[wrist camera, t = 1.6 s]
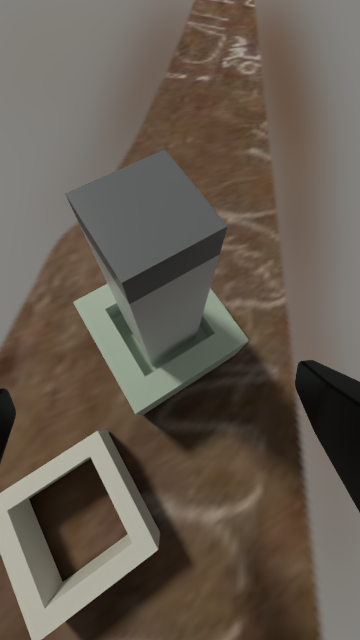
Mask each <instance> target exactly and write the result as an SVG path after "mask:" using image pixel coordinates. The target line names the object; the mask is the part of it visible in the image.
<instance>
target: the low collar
mask: <svg viewBox="0 0 360 640" xmlns="http://www.w3.org/2000/svg"><path fill="white" fill-rule="evenodd" d="M90 458H91V459H92V461H93V463H94V465H95V467H96V469H97V472H98V474H99V476H100V478H101V480H102V482H103V484H104V486H105V488H106V490H107V492H108V494H109V496H110V498H111V500H112V502H113V504H114V506H115V508H116V510H117V513H118V515H119V517H120V519H121V521H122V523H123V525H124V527H125V529H126V531H127V533H128V534H127V535H126V536H125V537H123V538H122V539H121V540H119V541H118V542H117V543H115V544H114V545H113V546H111V547H110V548H108V549H107V550H106V551H104V552H103V553H102V554H100V555H99V556H98V557H96V558H95V559H94V560H92V561H91V562H89V563H88V564H87V565H85V566H84V567H83V568H81V569H80V570H79V571H77V572H76V573H75V574H73V575H72V576H70V577H69V578H68V579H66V580H65V581H64V582H63V581H62V579H61V577H60V574H59V572H58V569H57V567H56V564H55V562H54V559H53V557H52V555H51V552H50V550H49V547H48V545H47V542H46V540H45V537H44V535H43V533H42V530H41V528H40V525H39V523H38V520H37V518H36V515H35V513H34V510H33V508H32V506H31V503H30V501H29V498H31V497H33V496H34V495H36V494H37V493H39V492H40V491H42V490H43V489H45V488H46V487H48V486H49V485H51V484H52V483H54V482H55V481H57V480H58V479H60V478H61V477H63V476H64V475H66V474H67V473H69V472H71V471H72V470H74V469H75V468H77V467H78V466H80V465H81V464H83V463H84V462H86V461H87V460H89V459H90ZM159 538H160V531H159V529H158V527H157V526H156V524H155V522H154V520H153V518H152V516H151V514H150V512H149V510H148V508H147V506H146V504H145V502H144V500H143V499H142V497H141V495H140V493H139V491H138V489H137V487H136V485H135V483H134V481H133V479H132V477H131V475H130V474H129V472H128V470H127V468H126V466H125V464H124V462H123V460H122V458H121V456H120V454H119V452H118V450H117V448H116V447H115V445H114V443H113V441H112V439H111V437H110V435H109V433H108V431H107V430H100V431H97V432H95V433H93V434H92V435H90V436H89V437H87V438H86V439H84V440H82V441H81V442H79V443H78V444H76V445H75V446H73V447H72V448H70V449H68V450H67V451H65V452H64V453H62V454H61V455H59V456H57V457H56V458H54V459H53V460H51V461H50V462H48V463H47V464H45V465H43V466H42V467H40V468H39V469H37V470H36V471H34V472H33V473H31V474H29V475H28V476H26V477H25V478H23V479H22V480H20V481H18V482H17V483H15V484H14V485H12V486H11V487H9V488H8V489H6V490H4V491H3V492H1V493H0V554H1V556H2V559H3V562H4V565H5V567H6V570H7V573H8V576H9V578H10V581H11V584H12V587H13V589H14V592H15V595H16V598H17V601H18V603H19V606H20V609H21V612H22V614H23V617H24V620H25V623H26V625H27V628H28V631H29V634H30V636H31V639H32V640H41V639H43V638H44V637H45V636H47V635H48V634H49V633H51V632H52V631H53V630H55V629H56V628H57V627H58V626H60V625H61V624H62V623H64V622H65V621H66V620H68V619H69V618H70V617H71V616H73V615H74V614H75V613H77V612H78V611H79V610H81V609H82V608H83V607H84V606H86V605H87V604H88V603H90V602H91V601H92V600H94V599H95V598H96V597H98V596H99V595H100V594H101V593H103V592H104V591H105V590H107V589H108V588H109V587H111V586H112V585H113V584H114V583H116V582H117V581H118V580H120V579H121V578H122V577H124V576H125V575H126V574H127V573H129V572H130V571H131V570H133V569H134V568H135V567H137V566H138V565H139V564H141V563H142V562H143V561H144V560H146V559H147V558H148V557H150V556H151V555H152V554H154V553H155V552H156V551H157V550H158V547H159Z"/></svg>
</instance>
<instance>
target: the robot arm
mask: <svg viewBox="0 0 360 640" xmlns="http://www.w3.org/2000/svg"><path fill="white" fill-rule="evenodd" d="M295 387H296V390H297V393H298V395H299V397H300V400H301V402H302V404H303V406H304V409H305V411H306V413H307V416H308V418H309V420H310V423H311V425H312V427H313V429H314V432H315V434H316V435H317V437H318V439H319V441H320V443H321V444H322V446H323V448H324V450H325V452H326V453H327V455H328V457H329V459H330V461H331V462H332V464H333V466H334V468H335V469H336V471H337V473H338V475H339V476H340V478H341V480H342V482H343V484H344V485H345V487H346V489H347V491H348V492H349V494H350V496H351V498H352V500H353V501H354V503H355V505H356V507H357V508H358V510H359V512H360V382H359V381H357V380H355V379H352V378H350V377H348V376H346V375H344V374H342V373H339V372H337V371H335V370H333V369H331V368H329V367H327V366H324V365H322V364H320V363H318V362H316V361H313V360H307V361H301V362H299V364H298V367H297V373H296V380H295ZM15 416H16V410H15V407H14V404H13V402H12V399H11V397H10V394H9V392H8V390H7V389H4V388H2V389H0V463H1V460H2V457H3V454H4V451H5V448H6V445H7V442H8V438H9V435H10V432H11V429H12V426H13V423H14V420H15Z"/></svg>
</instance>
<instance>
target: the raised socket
mask: <svg viewBox="0 0 360 640" xmlns="http://www.w3.org/2000/svg"><path fill="white" fill-rule="evenodd" d="M73 303H74V305H75V307H76V308H77V310H78V312H79V314H80V316H81V317H82V319H83V321H84V323H85V325H86V326H87V328H88V330H89V332H90V334H91V335H92V337H93V339H94V341H95V343H96V344H97V346H98V348H99V350H100V351H101V353H102V355H103V357H104V359H105V360H106V362H107V364H108V366H109V368H110V369H111V371H112V373H113V375H114V377H115V378H116V380H117V382H118V384H119V386H120V387H121V389H122V391H123V393H124V395H125V396H126V398H127V400H128V402H129V404H130V405H131V407H132V409H133V411H134V412H135V414H138V415H144V414H145V413H147V412H148V411H150V410H151V409H153V408H154V407H156V406H158V405H159V404H161V403H162V402H164V401H165V400H167V399H168V398H170V397H171V396H173V395H174V394H176V393H178V392H179V391H181V390H182V389H184V388H185V387H187V386H188V385H190V384H191V383H193V382H194V381H196V380H198V379H199V378H201V377H202V376H204V375H205V374H207V373H208V372H210V371H211V370H213V369H214V368H216V367H217V366H219V365H221V364H222V363H224V362H225V361H227V360H228V359H230V358H231V357H233V356H234V355H236V354H237V353H238V352H239V351H240V350H241V348H242V347H243V346H244V345H245V344H246V343H247V342H248V341H249V340H248V339H247V337H246V336H245V335H244V333H243V332H242V330H241V329H240V328H239V326H238V325H237V324H236V322H235V321H234V320H233V318H232V317H231V315H230V314H229V313H228V311H227V310H226V309H225V307H224V306H223V305H222V303H221V302H220V300H219V299H218V298H217V296H216V295H215V294H214V292H213V291H212V290H211V288H210V290H209V294H208V297H207V301H206V304H205V308H204V311H203V315H202V318H201V322H200V325H199V329H198V333H197V336H196V339H194V340H192V341H191V342H189V343H187V344H186V345H184V346H183V347H181V348H179V349H178V350H176V351H174V352H173V353H171V354H170V355H168V356H166V357H165V358H163V359H161V360H160V361H158V362H157V363H155V364H153V365H151V363H150V361H149V360H148V358H147V356H146V355H145V353H144V351H143V350H142V348H141V347H140V345H139V343H138V342H137V340H136V338H135V337H134V335H133V333H132V332H131V330H130V328H129V327H128V325H127V323H126V321H125V319H124V317H123V315H122V313H121V311H120V309H119V307H118V305H117V302H116V300H115V298H114V296H113V294H112V292H111V290H110V288H109V285H108V284H106V285H104V286H102V287H101V288H99V289H97V290H95V291H93V292H91V293H89V294H87V295H85V296H84V297H82V298H80V299H78V300H76V301H74V302H73Z"/></svg>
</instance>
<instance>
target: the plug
mask: <svg viewBox="0 0 360 640" xmlns="http://www.w3.org/2000/svg"><path fill="white" fill-rule="evenodd" d="M66 196H67V198H68V201H69V203H70V205H71V207H72V209H73V211H74V213H75V216H76V218H77V220H78V222H79V224H80V226H81V228H82V230H83V233H84V235H85V237H86V239H87V241H88V243H89V245H90V247H91V249H92V252H93V254H94V256H95V258H96V260H97V262H98V264H99V266H100V269H101V271H102V273H103V275H104V277H105V279H106V281H107V283H108V285H109V288H110V290H111V292H112V294H113V296H114V298H115V300H116V302H117V305H118V307H119V309H120V311H121V313H122V315H123V317H124V319H125V321H126V323H127V325H128V327H129V328H130V330H131V332H132V333H133V335H134V337H135V338H136V340H137V342H138V343H139V345H140V347H141V348H142V350H143V351H144V353H145V355H146V356H147V358H148V360H149V361H150V363H151V365H153V364H155V363H157V362H158V361H160V360H161V359H163V358H165V357H166V356H168V355H170V354H171V353H173V352H174V351H176V350H178V349H179V348H181V347H183V346H184V345H186V344H187V343H189V342H191V341H192V340H194V339H196V336H197V333H198V329H199V325H200V322H201V318H202V315H203V311H204V308H205V304H206V301H207V297H208V294H209V290H210V287H211V283H212V279H213V276H214V272H215V269H216V265H217V262H218V258H219V255H220V251H221V248H222V244H223V240H224V237H225V233H226V230H227V225H226V224H225V222H224V221H223V220H222V219H221V218H220V216H219V215H218V214H217V213H216V211H215V210H214V209H213V208H212V207H211V205H210V204H209V203H208V202H207V200H206V199H205V198H204V197H203V196H202V194H201V193H200V192H199V191H198V189H197V188H196V187H195V186H194V185H193V183H192V182H191V181H190V180H189V178H188V177H187V176H186V175H185V174H184V172H183V171H182V170H181V169H180V167H179V166H178V165H177V164H176V163H175V161H174V160H173V159H172V158H171V156H170V155H169V154H168V153H167V151H166V150H162V151H160V152H158V153H156V154H153V155H151V156H149V157H147V158H144V159H142V160H140V161H138V162H135V163H133V164H131V165H129V166H126V167H124V168H122V169H120V170H117V171H115V172H113V173H111V174H109V175H106V176H104V177H102V178H100V179H97V180H95V181H93V182H91V183H88V184H86V185H84V186H82V187H79V188H77V189H75V190H73V191H71V192H68V193H66Z"/></svg>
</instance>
